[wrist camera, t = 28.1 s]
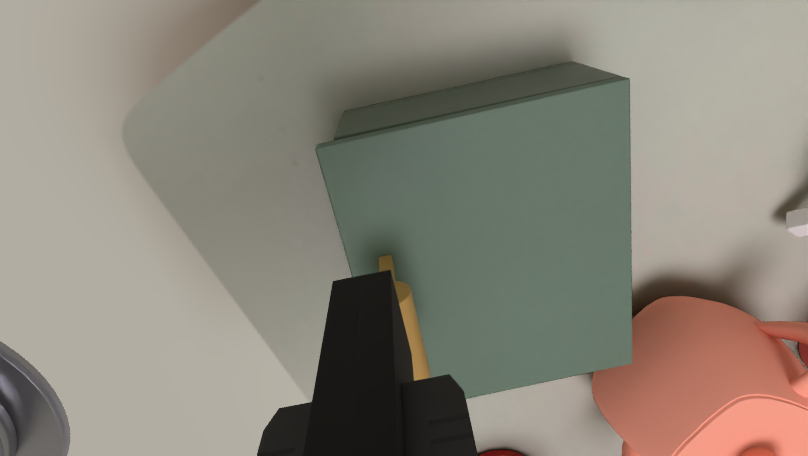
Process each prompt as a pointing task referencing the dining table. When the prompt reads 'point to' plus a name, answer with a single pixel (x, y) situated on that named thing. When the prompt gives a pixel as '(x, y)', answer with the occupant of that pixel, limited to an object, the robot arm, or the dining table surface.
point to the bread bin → (467, 98)
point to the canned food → (501, 453)
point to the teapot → (707, 384)
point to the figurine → (797, 222)
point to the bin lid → (499, 234)
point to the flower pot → (804, 353)
